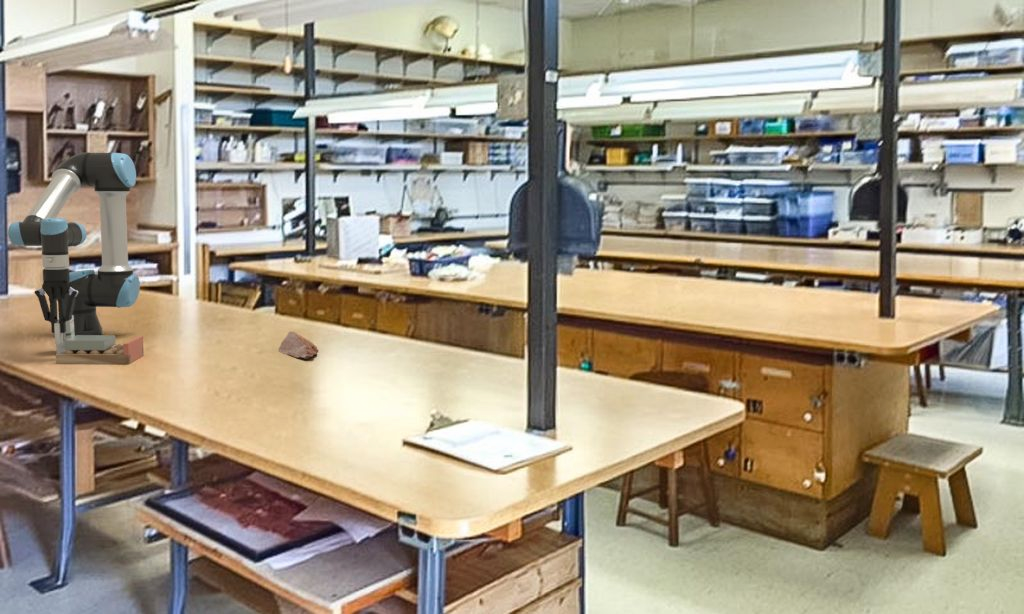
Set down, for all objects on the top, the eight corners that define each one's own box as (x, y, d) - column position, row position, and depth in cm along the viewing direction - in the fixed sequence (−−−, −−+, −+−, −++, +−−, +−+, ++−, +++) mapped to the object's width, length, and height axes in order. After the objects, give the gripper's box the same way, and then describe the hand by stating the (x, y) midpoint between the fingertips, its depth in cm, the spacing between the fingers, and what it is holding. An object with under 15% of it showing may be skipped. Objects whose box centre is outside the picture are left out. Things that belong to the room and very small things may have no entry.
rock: (295, 358, 314) (316, 334, 317) (272, 347, 334) (292, 325, 337) (317, 378, 318) (338, 355, 321) (293, 367, 339) (313, 345, 341)
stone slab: (77, 344, 317) (76, 335, 317) (115, 344, 318) (115, 335, 317) (64, 350, 307) (64, 340, 307) (104, 350, 308) (104, 340, 307)
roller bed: (73, 355, 319) (73, 343, 319) (143, 355, 321) (143, 343, 320) (56, 363, 305) (55, 351, 305) (129, 364, 307) (128, 351, 306)
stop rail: (138, 355, 320) (137, 335, 320) (143, 355, 321) (143, 336, 320) (123, 364, 306) (123, 343, 306) (129, 364, 307) (128, 343, 306)
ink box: (59, 350, 326) (57, 315, 325) (75, 350, 328) (74, 314, 326) (55, 355, 318) (54, 319, 317) (72, 355, 320) (71, 318, 318)
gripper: (29, 269, 304) (32, 345, 308) (72, 269, 305) (75, 345, 308) (39, 266, 312) (43, 341, 315) (81, 267, 312) (85, 341, 316)
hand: (59, 343), depth 312 cm, fingers closed
